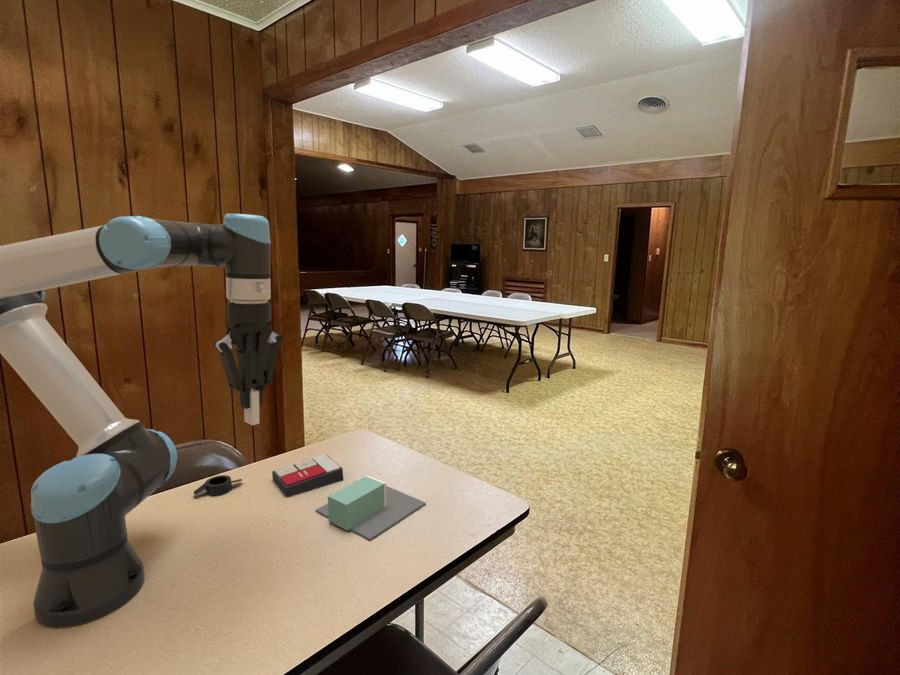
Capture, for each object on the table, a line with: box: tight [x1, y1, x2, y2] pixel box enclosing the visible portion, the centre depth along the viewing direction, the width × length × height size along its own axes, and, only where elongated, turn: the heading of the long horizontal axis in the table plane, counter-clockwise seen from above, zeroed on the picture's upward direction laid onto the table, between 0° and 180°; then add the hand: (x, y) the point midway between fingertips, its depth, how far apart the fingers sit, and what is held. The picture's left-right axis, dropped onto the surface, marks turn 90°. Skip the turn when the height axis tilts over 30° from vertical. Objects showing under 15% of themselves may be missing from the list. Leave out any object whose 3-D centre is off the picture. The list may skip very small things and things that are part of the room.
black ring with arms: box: [193, 474, 243, 497], centre depth 116 cm, size 8×10×3 cm
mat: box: [315, 485, 427, 542], centre depth 109 cm, size 18×18×1 cm
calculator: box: [271, 453, 344, 498], centre depth 122 cm, size 11×4×15 cm
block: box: [327, 474, 387, 531], centre depth 105 cm, size 6×6×12 cm
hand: (252, 422), depth 90 cm, fingers closed
